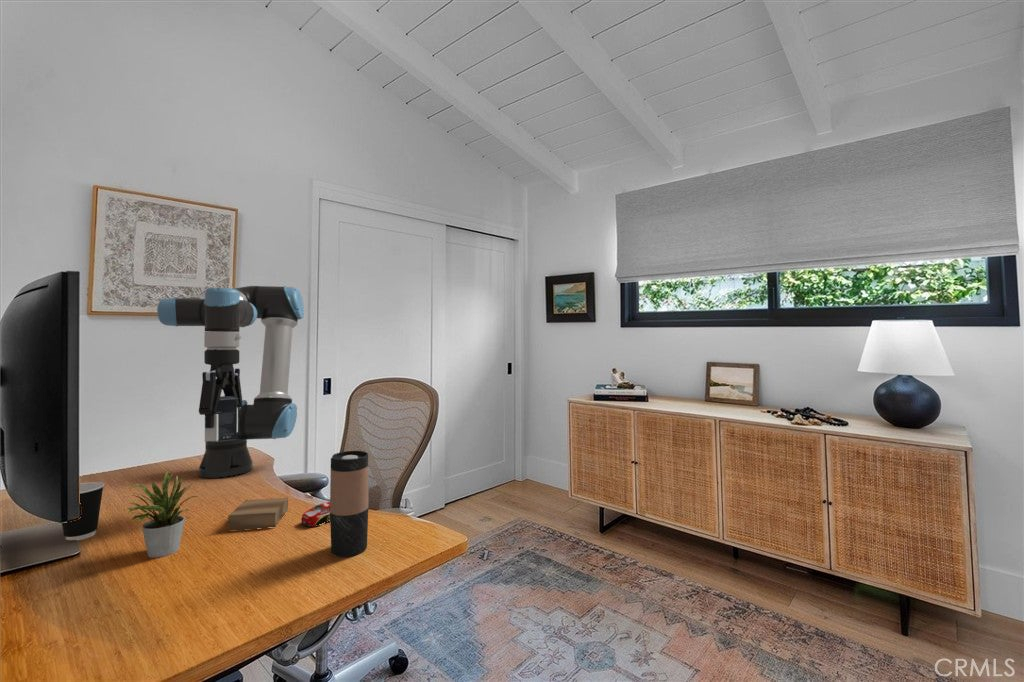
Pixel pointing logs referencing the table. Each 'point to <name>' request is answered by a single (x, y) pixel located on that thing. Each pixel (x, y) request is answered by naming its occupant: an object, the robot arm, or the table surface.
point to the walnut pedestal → (258, 514)
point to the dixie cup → (86, 512)
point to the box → (227, 418)
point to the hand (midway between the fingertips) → (222, 436)
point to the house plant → (162, 518)
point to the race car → (317, 515)
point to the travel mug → (349, 503)
